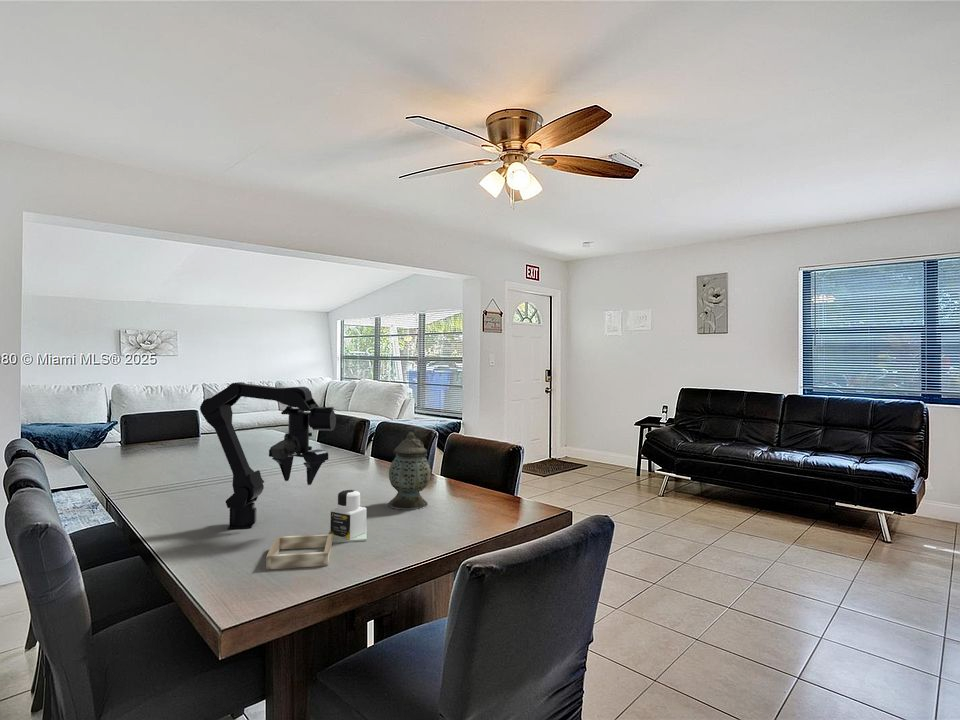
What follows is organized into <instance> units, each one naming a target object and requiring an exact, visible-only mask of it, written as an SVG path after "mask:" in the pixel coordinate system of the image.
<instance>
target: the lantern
mask: <svg viewBox="0 0 960 720" xmlns="http://www.w3.org/2000/svg"><path fill="white" fill-rule="evenodd" d="M393 454H394V455H395V457H394V459H393V460H392V461H391V463H390V466H389V468H388V479H389V482H390V485H391V487H393V489H395V490H396V492H397V493H396V495H395V496H394V497H393V498H392V499H391V500H390V501H389V502H387V507H388V506H389V507H390V509H391V508H392V509H391V510H395V509H397V510H396V511H403V510H407V511H416V510H415V509H418V510H421V509H420V508H422V509H424V508H423V507H425V508H427V506H428V502H427V501H426V500H425V499H424V498H423V497H422V495H421V493H420V492H422V491H423V490H424V489H425V488H426V487H427V486H428V485H429V483H430V480H431V475H432V472H431V471H432V469H431V466H430V460H428V459H427V457H428V449H426V448H425V447H424V443H423V441H421V440H420V438H418V437H416V436H415V434H414V432H412V431H409V432H408V433H406V438H405V439H402V441H401V442H400V444H399V445H398V446H396V448H395V449H393ZM389 507H388V508H389Z"/></svg>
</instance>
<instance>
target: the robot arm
mask: <svg viewBox="0 0 960 720" xmlns="http://www.w3.org/2000/svg"><path fill="white" fill-rule="evenodd" d="M241 397H243V398H250V399H251V398H253V399H259V400H268V401H275V402H278V403H280V404H282V405H285V406H286V407H285V408H284V410H282V411H281V412H280V414H281V415H288V425H287V427H288V432H287V433H284V438H283V440H281V441H279V442H277V443H275V444H274V445H272V446H271V447H270V448H269V450H268V457H269V458H271V460H273V461H275V462H276V463H277V464H278V466H279V468H280V470H281V473H282V476H283V479H284V482H289V480H290V478H291V473H292V472H291V471H292V466H293V461H294V457H298V458H303V460H304V461H305V462H303V465H304V466H305V468H306V482H307V486H311V485H312V483H313V482H314V479H315V477H316V475H317V474H318V472H319V470H320V468H321V466H322V465H323V464H324V463H326V461H329V452H328V451H327V450H325V449H319V448H317V449H312V448H313V447H312V446H309V445H310V444H309V443H310V437H312V436H313V432H310V428H311V429H312V430H313V431H334V430H335V428H336V424H337V416H336V413H335V410H334V407H333V406H327V407H321V406H320V405H319V404H318V403H317V402H316V401H315V399H314V398H313V394H312V391H311V390H310V389H309V387H307V386H290V387H278V386H277V387H276V386H267V385H262V384H261V385H259V384H253V383H252V384H251V383H245V382H242V381H241V382H239V381H238V382H233V383H230V384H229V385H228V386H227V387H225V388H224V389H222V390H220V391H219V392H218V393H216V394H214V395H213V396H212V397H208V398H205V399H204V400H203V401H202V402H201V404H200V405H199V406H200V407H199V410H200V411H199V412H200V414H202V416H203V418H204V419H205V422H206V423H208V424H209V425H210V426H211V427H212V428H213V429H214V431H215V432H216V436H217V438H218V441H219V442H220V445H221V448H222V450H223V453H224V455H225V457H226V461H227V463H228V466H229V467H230V471H231V472H232V490H233V494H231V496H229V497H228V498H227V499H226V500H225V504H226V508H227V509H229V522H228V523H229V525H228V526H227V529H229V530H231V529H235V530H236V529H251V528H253V526H254V525H255V524H256V522H257V512H258V511H257V509H258V508H257V507H255V505H256V504H255V502H256V501H257V500H258V498H259V496H260V495H261V494H262V493H263V491H264V488H265V487H264V483H265V481H264V479H263V477H262V474H261V471H260V470H258V469H257V470H256V471H254V469H253V468H251V466H250V464H249V462H248V459H247V457H246V454H245V452H244V450H243V448H242V445H241V443H240V440H239V438H238V435H237V432H236V430H235V427H234V425H233V409H232V407H233V406H234V405H236V403H237V402H238V401H239V400H240V398H241Z"/></svg>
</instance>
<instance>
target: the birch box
mask: <svg viewBox="0 0 960 720" xmlns="http://www.w3.org/2000/svg"><path fill="white" fill-rule="evenodd" d="M332 546H333V543H332V534H330V533H327V534H305V535H304V534H303V535H287V536H286V535H283V536H276V537H275V539H274V541H273V543H272V545H271V547H270V548H269V551H268V552H267V555H266V557H265V559H266V561H265V569H266V570H276V569H277V570H279V569H291V568H292V569H293V568H294V569H295V568H307V567H308V568H309V567H313V568H314V567H325V566H327V567H328V565H329V562H330V557H331V552H332ZM309 548H310V549H314V548H324V550H323V551H317V552H316V551H315V552H298V553H297V552H295V553H283V554H281V553H280V551H281V550H292V549H293V550H295V549H309ZM279 553H280V554H279Z"/></svg>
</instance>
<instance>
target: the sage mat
mask: <svg viewBox="0 0 960 720" xmlns="http://www.w3.org/2000/svg"><path fill="white" fill-rule="evenodd" d="M367 529H368V527H366V533H364V534H361V535H359V536H357V537H354V538H352V539H345V538H340V537H336V536H332V544H333V543H351V542H352V543H353V542H367V536H368V534H367V533H368V530H367Z"/></svg>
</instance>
